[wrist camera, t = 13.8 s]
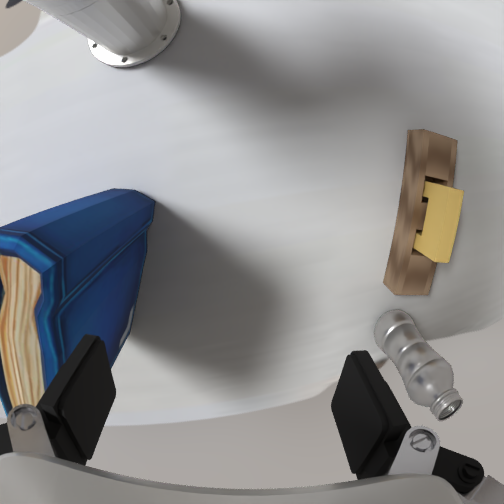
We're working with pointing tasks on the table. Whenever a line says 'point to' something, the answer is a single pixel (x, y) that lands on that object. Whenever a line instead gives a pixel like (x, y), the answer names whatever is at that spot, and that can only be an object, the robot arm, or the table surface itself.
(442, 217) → the yellow notched flat block
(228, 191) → the table surface
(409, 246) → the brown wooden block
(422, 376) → the plastic bottle
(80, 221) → the book
